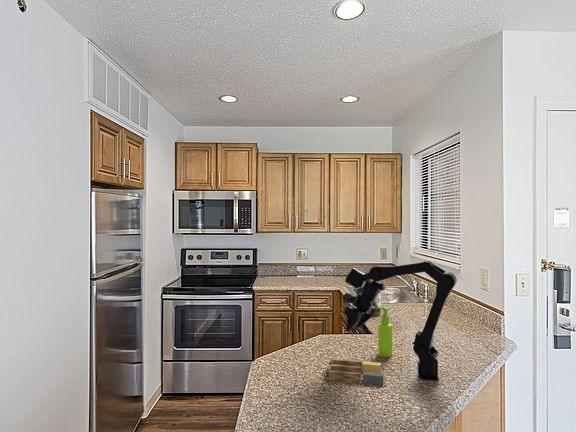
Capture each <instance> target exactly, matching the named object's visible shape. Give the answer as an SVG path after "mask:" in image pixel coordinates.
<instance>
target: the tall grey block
mask: <svg viewBox="0 0 576 432" xmlns="http://www.w3.org/2000/svg"><path fill="white" fill-rule="evenodd" d="M362 384H365V385H366V384H368V385H376V386H377V385H379V386H384V373H383V372H381V373H374V372H362Z"/></svg>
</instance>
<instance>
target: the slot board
mask: <svg viewBox="0 0 576 432" xmlns="http://www.w3.org/2000/svg"><path fill="white" fill-rule="evenodd" d="M362 375H363V372H362V360H353V359H352V360H351V359H339V358H338V359H337V358H331V359H330V360H329V362H328V365H327V367H326V371H325V380H327V381H328V380H329V381H337V382H346V383H347V382H350V383H358V384H359V383H361V380H362Z"/></svg>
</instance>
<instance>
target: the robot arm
mask: <svg viewBox="0 0 576 432" xmlns="http://www.w3.org/2000/svg"><path fill="white" fill-rule="evenodd" d="M419 273H421V274H422V273H425V274H427V276H429V277H430V278H431V279H432V280H433V281H435V282H436V288H435V289H436V290H435V297H434V299H433V303H432V305H431V307H430V310H429V313H428V315H427V319H426V321H425V323H424V327H423V330H422V331H420V330H418V331H417V332H416V334H415V336H414V341H413V342H412V345H413V346H412V348H413V352H414V353H415V355H416V356H417V358H418V360H419V361H417V375H418V376H419V379H421V380H430V381H431V380H432V381H440V380H439V361H438V358H437V357H438V356H439V351H438V350H437V349H436V348H435V347H434V345H433V344H434V339H435V337H434V335H435V331H436V328H437V325H438V324H439V321H440V318H441V315H442V313H443V309H444V307H445V304H446V301H447V299H448V297H449V296H450V293H452V290H453V289H454V288H455V286H456V284H457V281H458V280H457V277H456V275H455V274H454V273H453V272H450V271H446V270H445V269H443V268H441V267H440V266H437V265H436V264H434V263H433V262H431V260H425V261H421V262H419V261H418V262H415V263H406V264H400V265H385V264H384V265H380V264H378V265H376V266H373V267H371V268H370V270H369V272H366V273H364V272H361V271H360V270H358V269H357V268H355V267H353V268H351V270H350V271H349V273H348V274H347V275H346V278H345V280H344V283H346V284H348V285H349V286H351V287H352V288H355V289H356V290H357V289H359V288H362V287H363V286H364V284H365V286H364V288H363V290H362V292H361V294H358V295H357V294H353V293H349V292H345V294H343V296H342V299H343V303H349V304H352V305H351V306H347V307H344V309H343V311H342V313H343V314H344V316H345V317H346V319H347V320H346V327H345V330H346V332H348V333H349V332H350V331H352V329H353V328H354V327H355V326H356V328H358V329H359V328H362V326H364V324H366V323H367V322H368V321H369V320H371V319H372V318H374V317H373V316H374V315H376V313H377V308H376V307H374V306H373V305H372V304H373V303H375V301H376V300H375V298H376V295H377V293H378V291H379V289H380V290H381V292H382V291H385V290H386V286H385V284H384V282H382V283H380V282H381V281H383V280H387V279H389V278H393V277H397V276H404V275H411V274H412V275H413V274H419ZM370 279H371V281H370ZM356 308H357V309H356ZM371 312H372V314H371Z"/></svg>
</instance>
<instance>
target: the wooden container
mask: <svg viewBox="0 0 576 432" xmlns="http://www.w3.org/2000/svg"><path fill="white" fill-rule="evenodd" d="M370 281H372V279H370ZM364 286H365V284H364ZM364 286H363V287H362V288H359V289H356V295H358V294H361V292H362V290H363V288H364ZM381 292H382V290H380V289H379V291H378V293H377V295H376V298H375V300H376V301H375V303H373V304H372V305H373V306H374V307H376V308H378V307H382V302H381V301H382V296H381V294H382V293H381ZM355 308H356V307H355ZM356 309H357V308H356ZM381 312H382V309H377V313H376V315H374V316H373V317H372V318H375V317H381ZM371 314H372V312H371Z"/></svg>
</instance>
